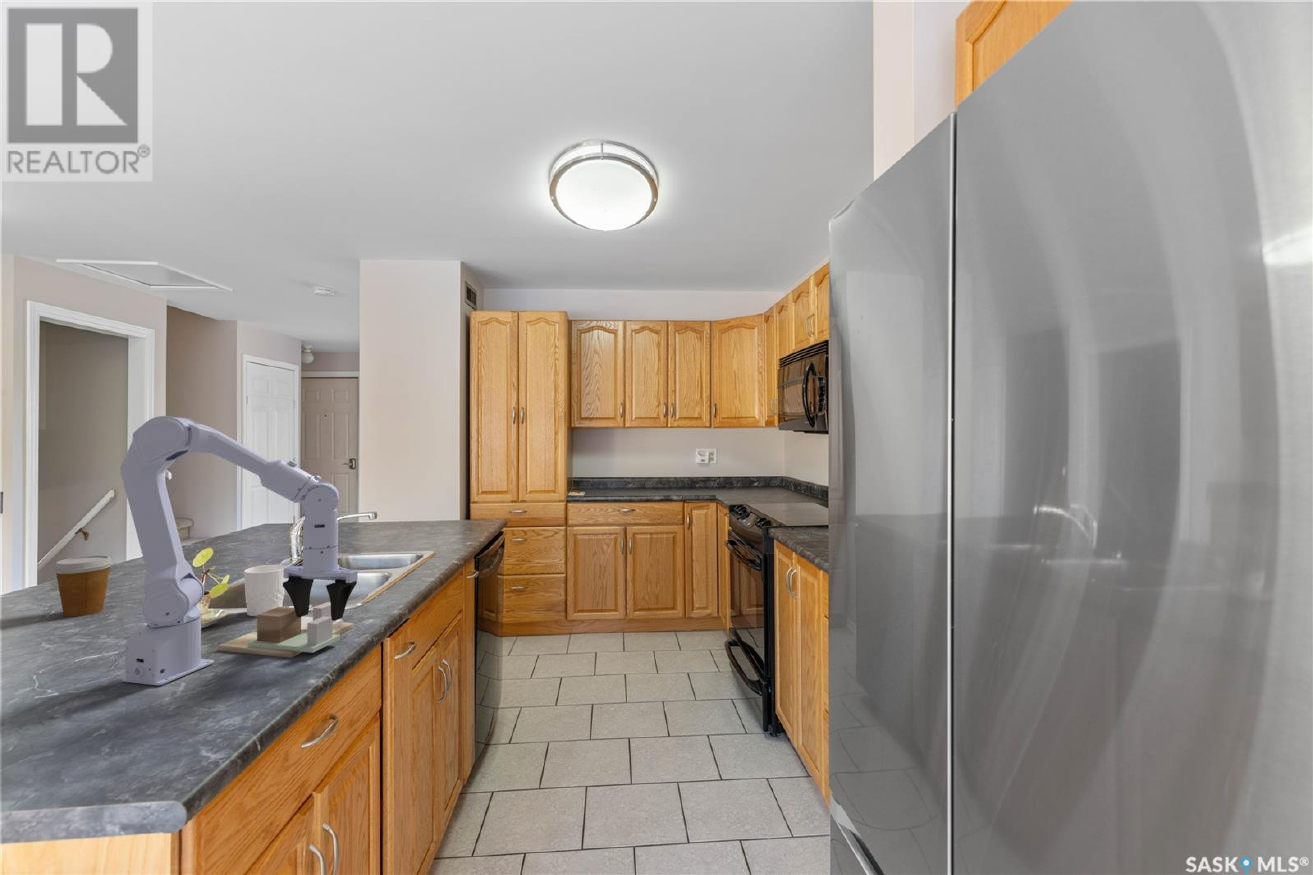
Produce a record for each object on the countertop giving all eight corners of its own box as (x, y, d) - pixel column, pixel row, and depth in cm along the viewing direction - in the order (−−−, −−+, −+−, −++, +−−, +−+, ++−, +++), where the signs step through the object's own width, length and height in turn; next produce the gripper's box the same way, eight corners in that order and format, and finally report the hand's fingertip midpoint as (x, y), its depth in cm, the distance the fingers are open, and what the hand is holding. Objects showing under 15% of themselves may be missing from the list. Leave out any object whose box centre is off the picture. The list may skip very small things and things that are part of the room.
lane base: (291, 657, 103) (291, 652, 103) (218, 650, 106) (218, 645, 106) (353, 628, 119) (353, 623, 119) (288, 622, 122) (288, 617, 122)
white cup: (293, 607, 133) (294, 565, 132) (267, 618, 125) (267, 573, 125) (262, 606, 133) (263, 564, 133) (234, 616, 126) (235, 572, 125)
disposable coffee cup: (66, 608, 130) (66, 557, 129) (120, 603, 134) (120, 553, 134) (42, 621, 121) (43, 566, 121) (101, 616, 125) (101, 562, 125)
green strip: (312, 652, 103) (313, 626, 103) (248, 646, 106) (248, 621, 106) (340, 639, 110) (340, 614, 110) (278, 633, 113) (278, 609, 113)
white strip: (318, 634, 112) (318, 610, 112) (258, 629, 115) (258, 606, 115) (343, 623, 119) (343, 600, 119) (286, 618, 122) (286, 596, 121)
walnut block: (279, 643, 106) (279, 616, 106) (257, 640, 107) (257, 614, 107) (301, 633, 111) (301, 608, 111) (279, 631, 112) (279, 606, 111)
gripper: (369, 544, 109) (368, 613, 109) (304, 540, 112) (303, 608, 112) (342, 551, 102) (341, 625, 103) (274, 547, 105) (273, 619, 105)
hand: (319, 617), depth 107 cm, fingers open, 7 cm apart
